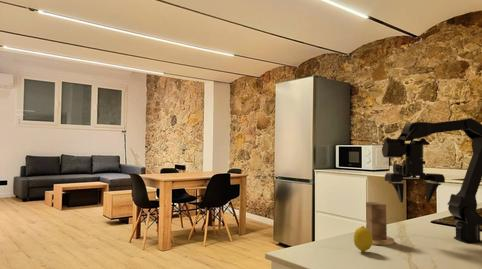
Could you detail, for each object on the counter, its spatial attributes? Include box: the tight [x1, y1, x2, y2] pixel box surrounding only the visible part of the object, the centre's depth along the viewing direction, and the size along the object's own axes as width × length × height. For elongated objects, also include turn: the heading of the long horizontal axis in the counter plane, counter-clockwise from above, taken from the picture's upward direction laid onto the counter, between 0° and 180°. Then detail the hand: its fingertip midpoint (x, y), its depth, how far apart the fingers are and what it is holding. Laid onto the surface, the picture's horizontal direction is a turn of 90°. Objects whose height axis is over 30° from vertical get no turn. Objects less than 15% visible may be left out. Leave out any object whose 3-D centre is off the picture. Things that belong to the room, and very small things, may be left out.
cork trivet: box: [372, 235, 395, 247], centre depth 121 cm, size 11×11×1 cm
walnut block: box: [365, 201, 388, 240], centre depth 121 cm, size 5×5×12 cm
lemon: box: [353, 225, 373, 253], centre depth 108 cm, size 6×6×8 cm
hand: (414, 202), depth 123 cm, fingers open, 9 cm apart
